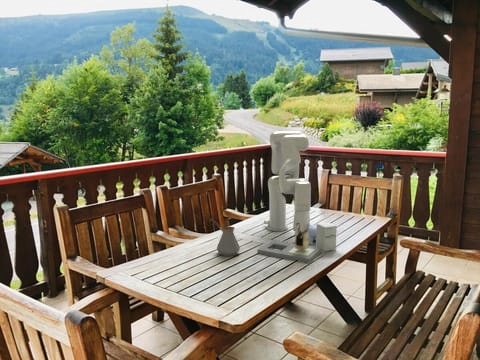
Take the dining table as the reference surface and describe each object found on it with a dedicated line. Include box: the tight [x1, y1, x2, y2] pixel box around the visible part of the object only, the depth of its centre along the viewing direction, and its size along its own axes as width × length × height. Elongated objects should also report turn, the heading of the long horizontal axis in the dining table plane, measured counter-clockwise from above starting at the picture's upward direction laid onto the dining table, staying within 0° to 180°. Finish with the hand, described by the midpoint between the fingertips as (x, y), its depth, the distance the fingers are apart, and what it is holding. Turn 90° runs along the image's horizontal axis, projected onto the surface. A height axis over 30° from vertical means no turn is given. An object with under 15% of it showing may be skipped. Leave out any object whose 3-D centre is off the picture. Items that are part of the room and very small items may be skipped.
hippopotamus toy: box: [308, 224, 317, 245], centre depth 220 cm, size 11×15×10 cm
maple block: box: [294, 230, 310, 250], centre depth 199 cm, size 5×5×8 cm
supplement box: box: [315, 222, 338, 252], centre depth 208 cm, size 7×7×13 cm
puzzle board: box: [256, 240, 322, 264], centre depth 203 cm, size 27×16×2 cm, turn 60°
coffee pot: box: [210, 217, 241, 257], centre depth 207 cm, size 21×12×15 cm, turn 36°
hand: (301, 243), depth 199 cm, fingers closed on maple block, 4 cm apart
